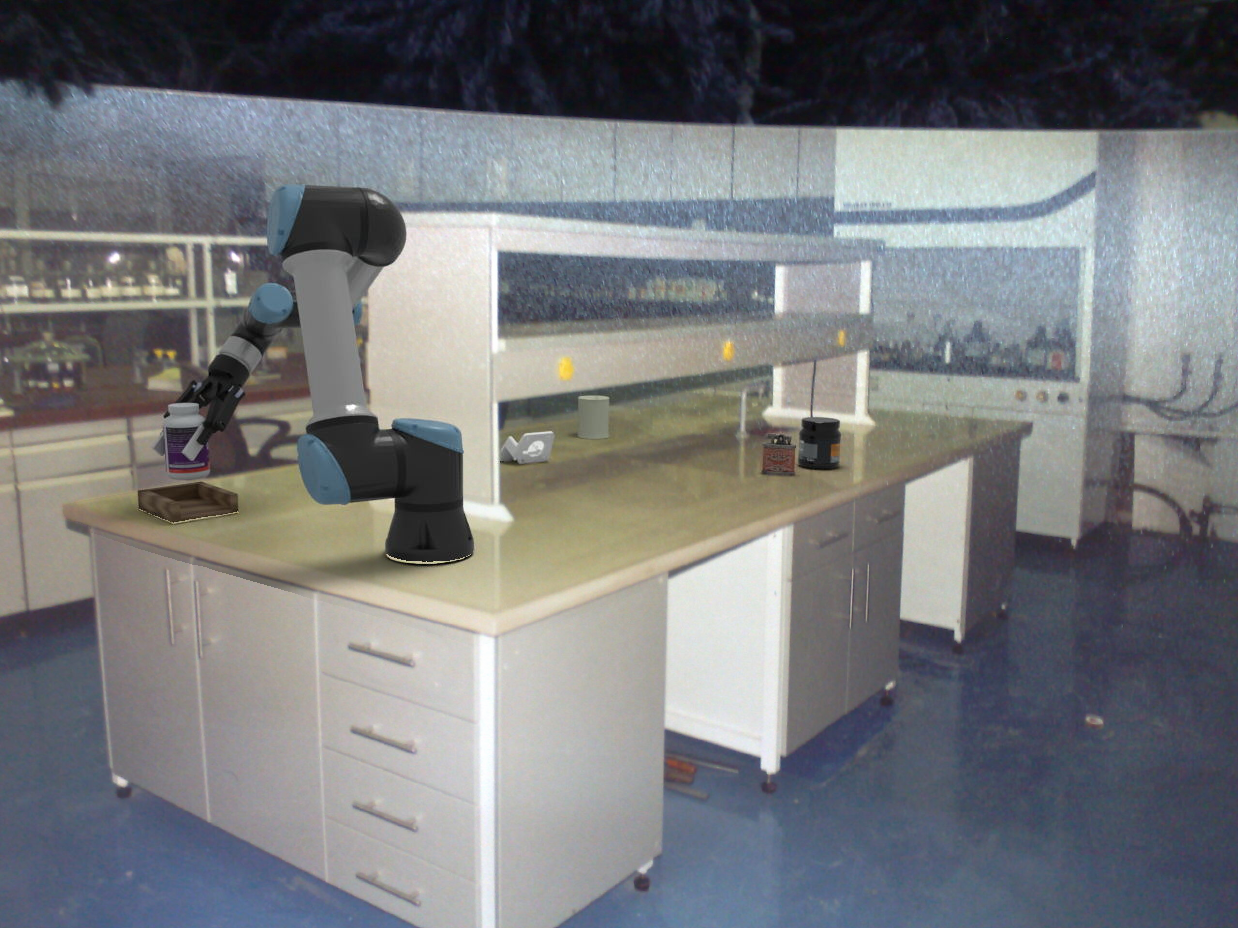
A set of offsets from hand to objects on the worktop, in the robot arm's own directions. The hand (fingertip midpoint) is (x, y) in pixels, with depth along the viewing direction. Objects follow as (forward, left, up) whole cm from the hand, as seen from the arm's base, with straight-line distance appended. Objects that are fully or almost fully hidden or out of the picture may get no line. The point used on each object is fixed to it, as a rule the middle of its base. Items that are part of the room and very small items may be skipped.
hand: (172, 454), depth 201 cm
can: (+13, -128, -13) cm, 129 cm away
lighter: (-56, -123, -13) cm, 136 cm away
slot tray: (+1, -3, -12) cm, 13 cm away
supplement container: (-57, -139, -13) cm, 151 cm away
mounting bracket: (-3, -87, -13) cm, 88 cm away
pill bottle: (+1, -3, -5) cm, 6 cm away
